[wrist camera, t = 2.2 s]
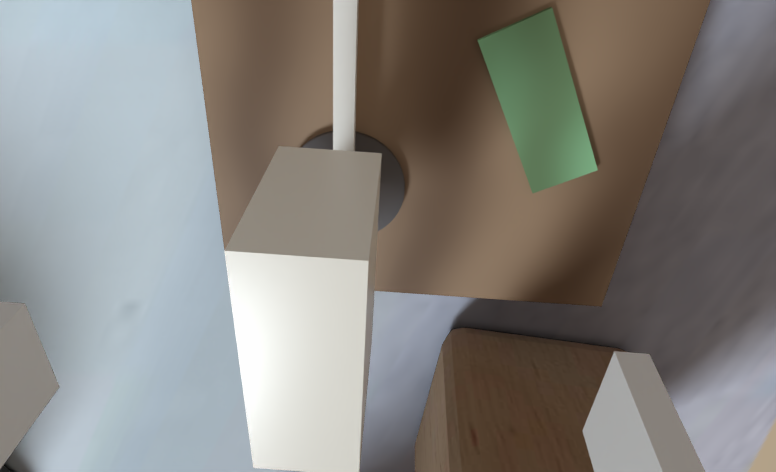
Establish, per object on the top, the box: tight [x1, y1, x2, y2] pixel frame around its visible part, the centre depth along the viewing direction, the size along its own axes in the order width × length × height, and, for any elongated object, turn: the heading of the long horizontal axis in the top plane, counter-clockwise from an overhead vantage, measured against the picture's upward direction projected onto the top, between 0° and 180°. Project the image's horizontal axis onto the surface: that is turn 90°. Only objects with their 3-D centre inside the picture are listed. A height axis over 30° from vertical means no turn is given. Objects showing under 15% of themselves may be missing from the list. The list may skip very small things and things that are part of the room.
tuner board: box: [191, 0, 710, 307], centre depth 20 cm, size 16×16×3 cm
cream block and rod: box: [225, 0, 382, 472], centre depth 14 cm, size 3×14×9 cm, turn 177°
